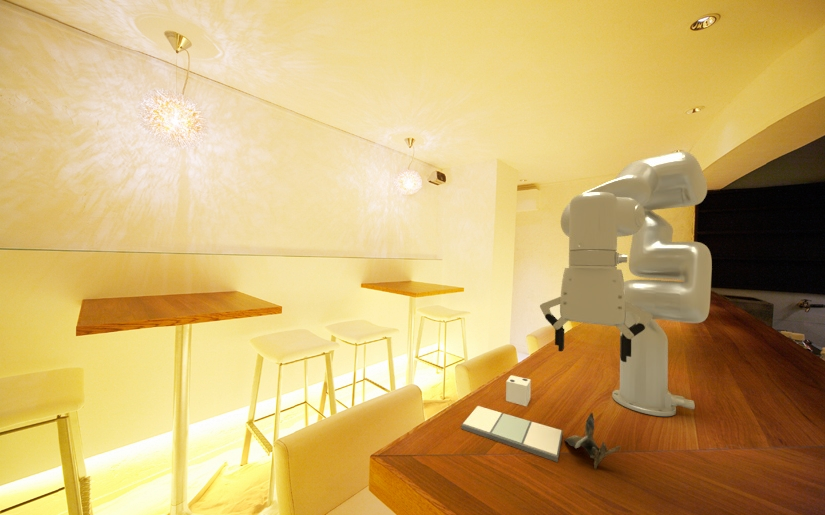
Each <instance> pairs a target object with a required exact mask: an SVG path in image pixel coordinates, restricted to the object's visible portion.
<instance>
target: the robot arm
mask: <svg viewBox="0 0 825 515" xmlns="http://www.w3.org/2000/svg"><path fill="white" fill-rule="evenodd" d="M707 194H708V184H707V180H706V177H705V174H704V172H703V170H702V167H701V165H700V163H699V161H698V159H697V158H696V157H695V156H694V155H693V154H691V153H690V152H688V151H682V150H681V151H675V152H670V153H669V152H668V153H665V154H660V155H656V156H651V157H646V158H642V159H639V160H635V161H633V162H630V163H629V164H627V165H626V166H625V167H624V168H623V169H622V170H620V172H619V173H618V174H617V175H616V176H615V177H614V178H613V179H612V180H609V181H607V182H604V183H602V184H600V185H598V186H596V187H594V188H591V189H588V190H586V191H584V192H582V193H580V194H577V195H575V196H574V197H573V198H572V199H571V200H570V202H569V203H568V204H567V205H566V207H565V208H564V209H563V210H562V214H561V217H560V228H561V230H562V232H563V234H564V235H565V236H567V237H568V267H564V271H563V274H562V281H561V288H560V289H561V290H560V296H559V297H556V298H554V299H551V300H548V301H546V302H545V301H544V302H543V303H541V304H540V305H539V308H540V309H541V313H542V314H543V315H544V318H545V319H546V321H547V323H549V324H550V325H551V326H552V328H553V329H554V345H555V346H558V347H557V348H558V350H557V351H558V352H563V351H564V349H565V328H564V325H566V323H568V321H569V322H576V323H583V324H591V325H601V326H611V327H612V326H613V327H616V328H617V329H618V330H619V332H620V333H619V334H620V335H619V337H620V338H619V347H620V348H619V389H615V390H613V391H612V399H613V400H614V401H615V402H617V403H618V404H620V405H621V406H623V407H625V408H626V409H629V410H632V411H635V412H638V413H642V414H645V415H649V416H655V417H656V416H657V417H672V416H674V415H676V414H677V408H676V407H677V406H678V407H683V408H686V409H691V410H695V406H696V405H695V400H691V399H688V398H685V396H682V395H679V394H678V395H677V394H676V395H675V394H672V393H671V391H669V389H668V387H669V386H668V385H669V383H668V375H669V373H668V367H669V365H668V364H669V359H668V358H669V355H668V354H669V351H668V349H669V340H668V336H667V334H666V332H665V331H664V329H663V328H662V327H661V326H660V324H658V322H657V321H656V320H664V321H670V322H677V323H678V322H679V323H687V324H699V323H703V322H705V321H706V319H707V318H708V316H709V314H710V306H711V291H712V290H711V289H712V270H713V268H712V267H713V266H712V264H713V263H712V262H713V261H712V255H711V254H712V253H711V251H710V249H709V248H708V246H707V245H705V244H704V243H702V242H698V241H673V234H674V229H673V226H672V224H670V222H668V220H666V219H665V218H664V217H662V216H660V215H659V214H658V213H655V212H654V211H655V210H664V209H665V210H666V209H674V208H675V209H676V208H687V207H692V206H697V205H699V204H701V203H702V202H703V201H704V199H705V198H706V196H707ZM630 236H631V243H630V251H629V257H628V255H627V254H621V253H619V252H618V238H619V237H621V238H622V237H630ZM622 263H627V264H628V270H629V271H630V273H631V274H632V275H633V276H635V277H639V278H643V279H630V280H625V281H624V275H623V271H622V269H620V268H619V269H618V268H617V267H618V265H619V264H622ZM644 278H645V279H644ZM661 279H662V280H661ZM673 280H678V281H673ZM556 306H559V312H560V313H559V315H560V317H559V318H558V319H557V318H556V317H555V316H554V315H553V313H552V311H551V308H553V307H556Z"/></svg>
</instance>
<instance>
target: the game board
mask: <svg viewBox="0 0 825 515" xmlns="http://www.w3.org/2000/svg"><path fill="white" fill-rule="evenodd" d="M460 429H461V430H463V431H466V432H470V433H471V434H475V435H478V436H481V437H483V438H486V439H489V440H493V441H495V442H497V443H501V444H504V445H507V446H510V447H513V448H516V449H518V450H520V451H524V452H527V453H530V454H532V455H536V456H538V457H541V458H545V459H547V460H550V461H553V462H556V463H559V462H558V461H559V456H560V452H561V451H560V450H561V446H562V441H563V434H564V431H563V430H562V429H559V428H555V427H552V426H548V425H545V424H542V423H538V422H534V421H531V420H528V419H524V418H521V417H517V416H513V415H511V414H507V413H504V412H500V411H497V410H493V409H490V408H486V407H483V406H481V405H476V406H475V408H474V409H473V411H472V412H471V413H470V414H468V416H467V418H466V419H465V420H464V421H463V422H462V424H461V427H460Z"/></svg>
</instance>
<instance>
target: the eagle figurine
mask: <svg viewBox="0 0 825 515" xmlns="http://www.w3.org/2000/svg"><path fill="white" fill-rule="evenodd" d="M594 430H595V418H594V414H593V412H590V414H589V415H588V417H587V418H586V421H585V425H584V433H585V434H584V436H582V437H581V436H580V435H576V434H575V435H571V436H569V437H566V438H564V440H563V441H564V442H567V443H568V446H571V447H574V448H575V449H577V448H578V449H579V448H580V447H582V448H583V449H584V450H586V452H587V454H588V455H589V457H590V458H591V459H593V460H594V461H593V465H594V466H593V468H594V469H595V470H597V468H598V465H599V466H600V463H601V462H602V460H603V459H604V458H606V456H609V455H610V454H613V453H616V452H618V451H619V450H620V448H621V445H617V446H615V447H613V448H610V449H609V450H608V447H607V445H606V444H605V441H602V444H601V445H600V447H598V444H597V443H596V441H595V440H594Z"/></svg>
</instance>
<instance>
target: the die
mask: <svg viewBox="0 0 825 515" xmlns="http://www.w3.org/2000/svg"><path fill="white" fill-rule="evenodd" d="M531 380H532V379H530V378H525V377H521V376H517V375H510V376H509V377H508V379H507V380H506V381H505V384H506V385H505V386H506V387H505V401H506V402H508V403H513V404H517V405H520V406H524V407H528V405H529V402H530V400H531V391H532V390H531V388H532V387H531V384H532V383H531V382H532V381H531Z"/></svg>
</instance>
